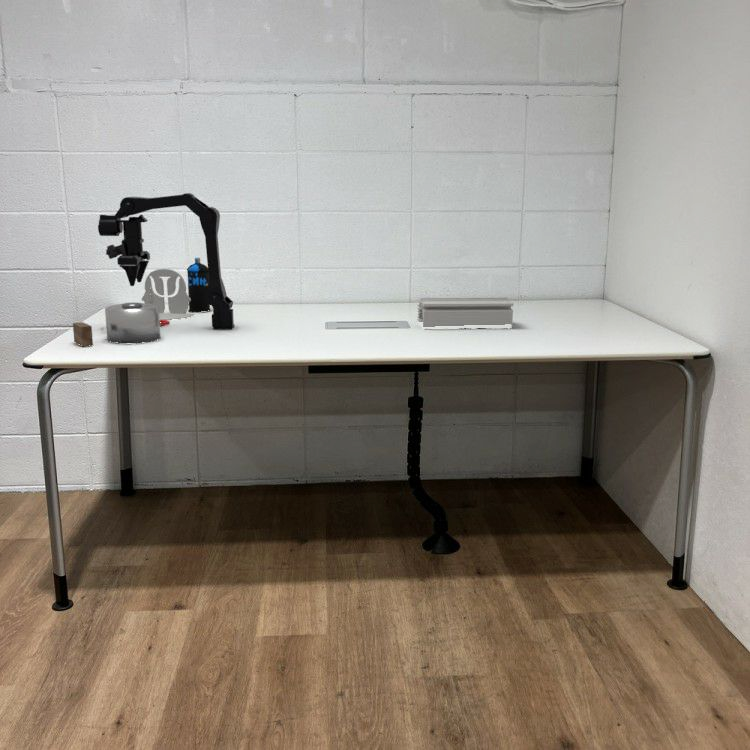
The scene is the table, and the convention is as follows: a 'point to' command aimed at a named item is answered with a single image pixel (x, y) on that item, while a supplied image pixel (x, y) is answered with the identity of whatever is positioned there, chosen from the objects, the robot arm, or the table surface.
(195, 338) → the table surface
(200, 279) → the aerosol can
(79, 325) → the walnut block
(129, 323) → the cylinder
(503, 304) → the aluminum extrusion profile
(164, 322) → the tow hook
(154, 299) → the ornament
